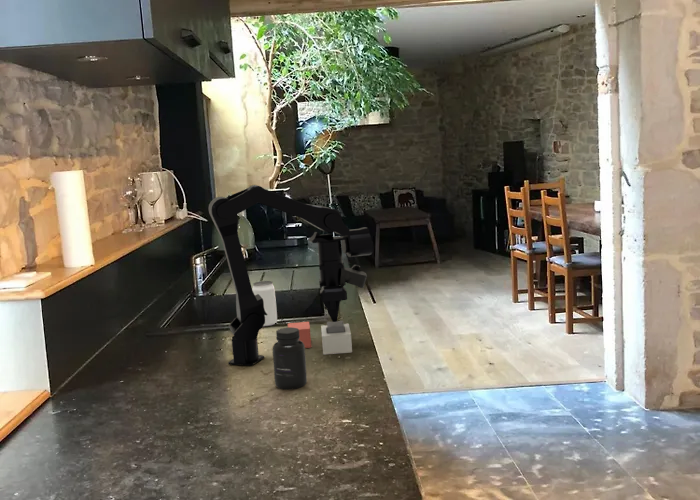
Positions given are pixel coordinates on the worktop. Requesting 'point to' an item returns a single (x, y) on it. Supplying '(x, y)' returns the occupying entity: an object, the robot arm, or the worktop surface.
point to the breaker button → (335, 327)
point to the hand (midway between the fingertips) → (334, 321)
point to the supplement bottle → (289, 359)
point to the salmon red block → (303, 332)
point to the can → (267, 300)
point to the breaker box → (336, 341)
